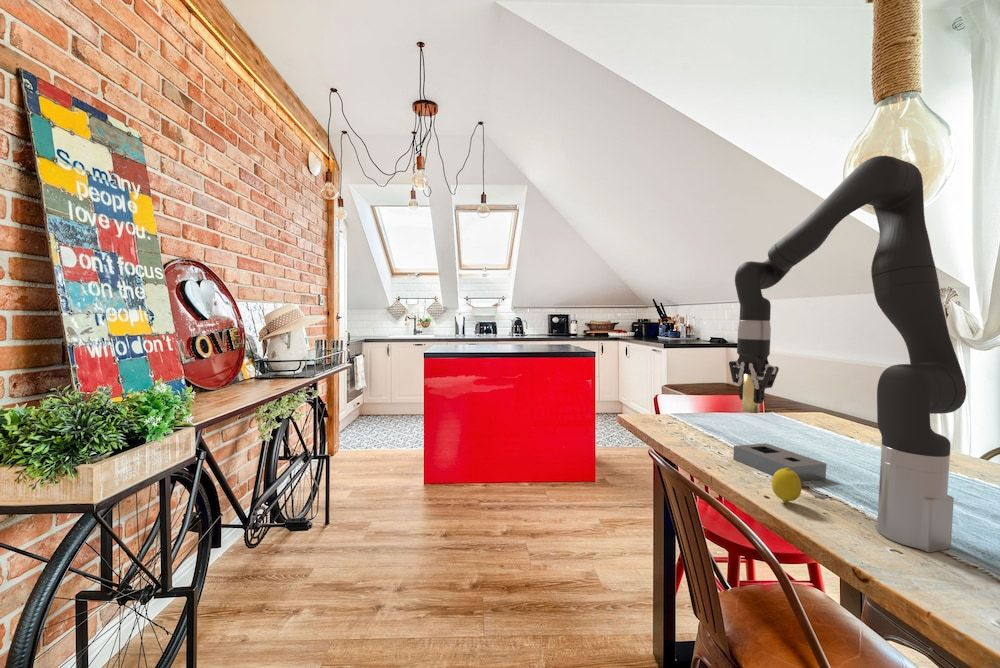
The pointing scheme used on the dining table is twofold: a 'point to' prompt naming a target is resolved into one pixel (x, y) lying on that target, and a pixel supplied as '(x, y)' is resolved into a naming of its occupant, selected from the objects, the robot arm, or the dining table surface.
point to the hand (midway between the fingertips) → (750, 401)
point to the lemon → (786, 485)
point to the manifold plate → (779, 461)
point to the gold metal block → (749, 395)
